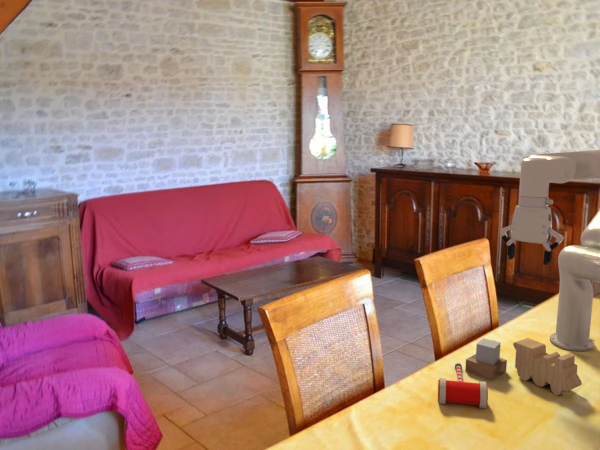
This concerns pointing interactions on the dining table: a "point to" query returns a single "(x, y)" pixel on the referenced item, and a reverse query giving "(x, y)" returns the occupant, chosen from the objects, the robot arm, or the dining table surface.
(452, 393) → the toy hammer
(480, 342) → the slate brick
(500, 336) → the dining table surface
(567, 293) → the robot arm
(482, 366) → the walnut block
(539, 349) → the toy train
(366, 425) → the dining table surface
